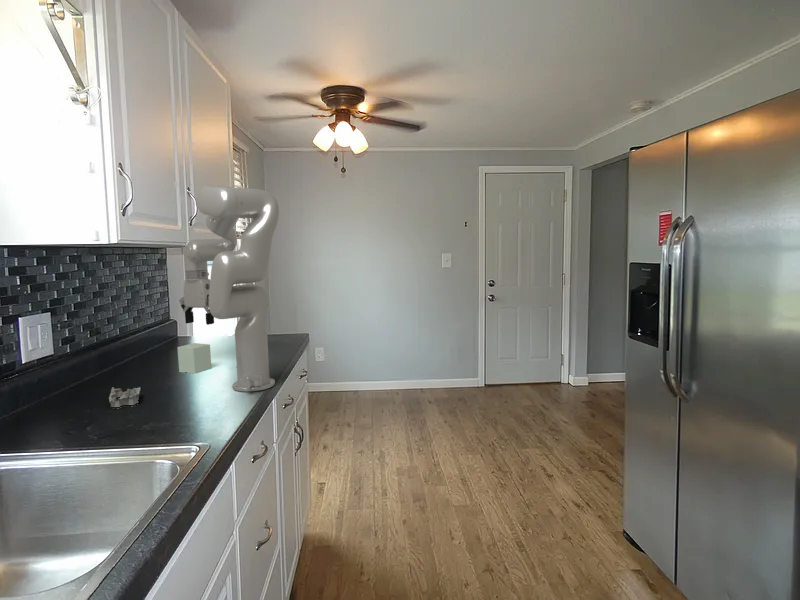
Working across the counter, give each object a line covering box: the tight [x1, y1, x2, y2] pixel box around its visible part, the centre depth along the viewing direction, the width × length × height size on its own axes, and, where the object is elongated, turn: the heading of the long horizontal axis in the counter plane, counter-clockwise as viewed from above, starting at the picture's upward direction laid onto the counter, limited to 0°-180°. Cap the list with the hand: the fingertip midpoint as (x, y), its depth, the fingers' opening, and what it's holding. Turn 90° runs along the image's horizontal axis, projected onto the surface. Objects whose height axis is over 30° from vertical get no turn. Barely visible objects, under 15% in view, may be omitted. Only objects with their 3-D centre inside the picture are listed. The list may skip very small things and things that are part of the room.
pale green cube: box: [177, 342, 212, 374], centre depth 174 cm, size 8×8×9 cm
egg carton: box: [108, 386, 141, 408], centre depth 139 cm, size 11×8×4 cm
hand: (199, 323), depth 175 cm, fingers open, 9 cm apart
